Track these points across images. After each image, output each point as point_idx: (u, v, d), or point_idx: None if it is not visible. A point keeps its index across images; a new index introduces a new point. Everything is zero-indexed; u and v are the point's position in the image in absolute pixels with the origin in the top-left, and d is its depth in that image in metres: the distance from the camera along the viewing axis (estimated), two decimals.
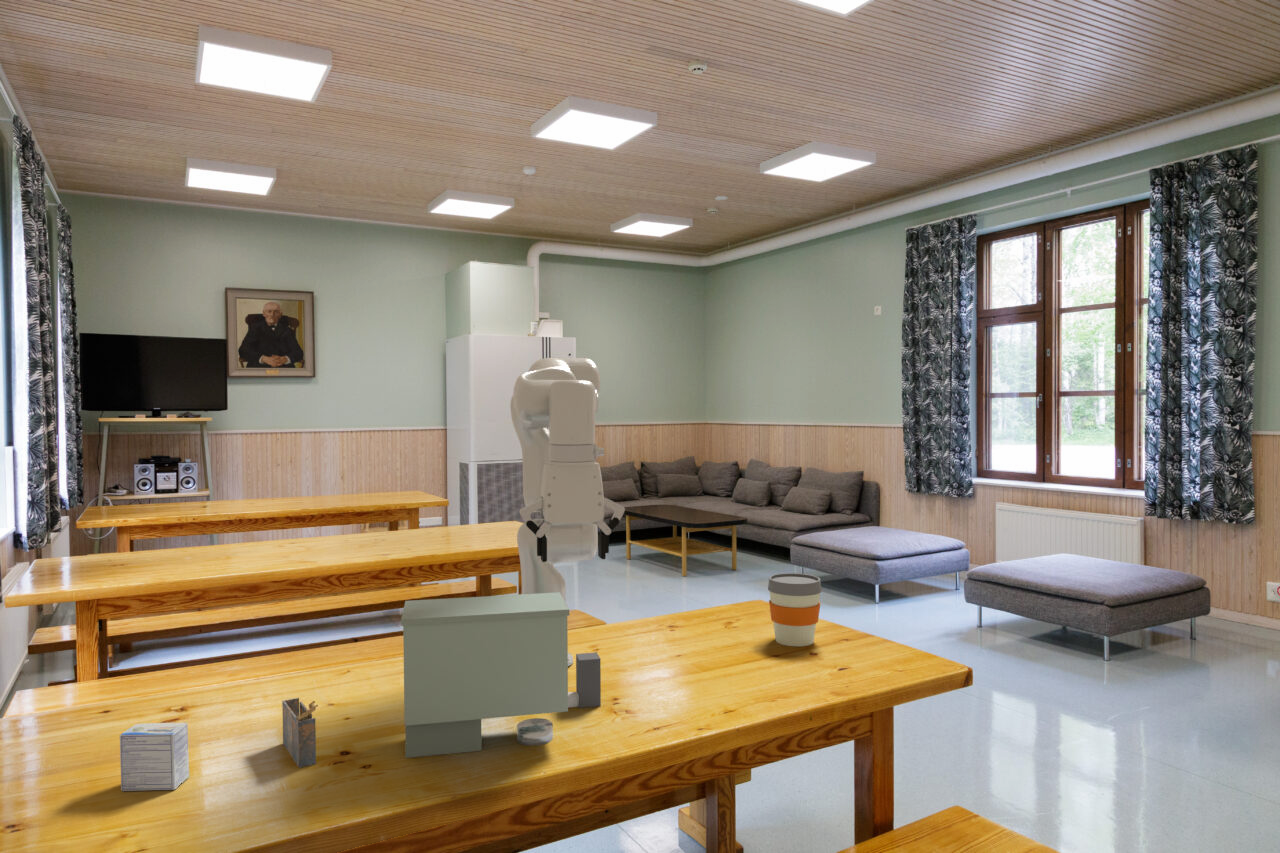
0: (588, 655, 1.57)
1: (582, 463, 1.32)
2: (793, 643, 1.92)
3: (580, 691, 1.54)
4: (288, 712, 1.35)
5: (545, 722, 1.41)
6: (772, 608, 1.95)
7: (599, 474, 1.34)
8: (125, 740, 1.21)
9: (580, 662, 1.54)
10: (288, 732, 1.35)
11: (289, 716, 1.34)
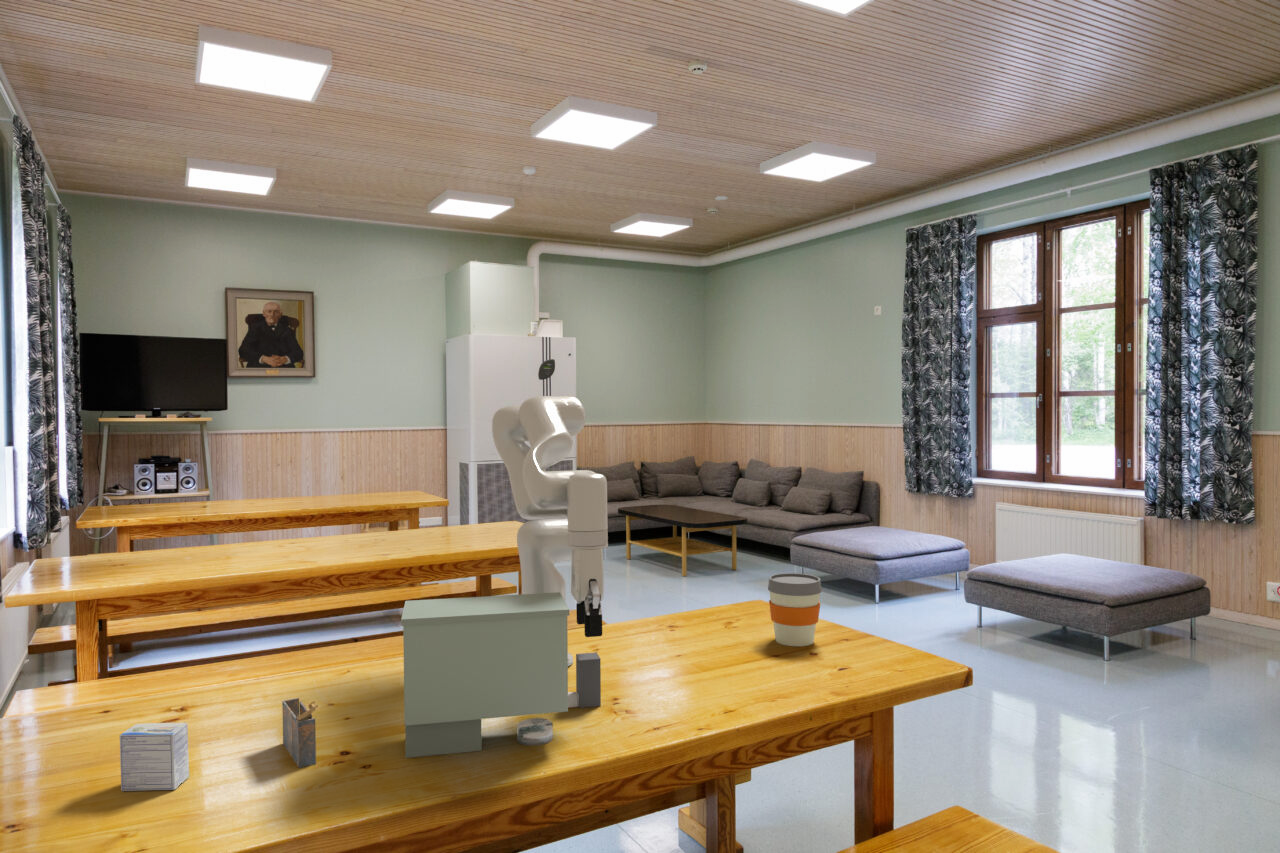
0: (588, 655, 1.57)
1: None
2: (793, 643, 1.92)
3: (580, 691, 1.54)
4: (288, 712, 1.35)
5: (545, 722, 1.41)
6: (772, 608, 1.95)
7: None
8: (125, 740, 1.21)
9: (580, 662, 1.54)
10: (288, 732, 1.35)
11: (289, 716, 1.34)
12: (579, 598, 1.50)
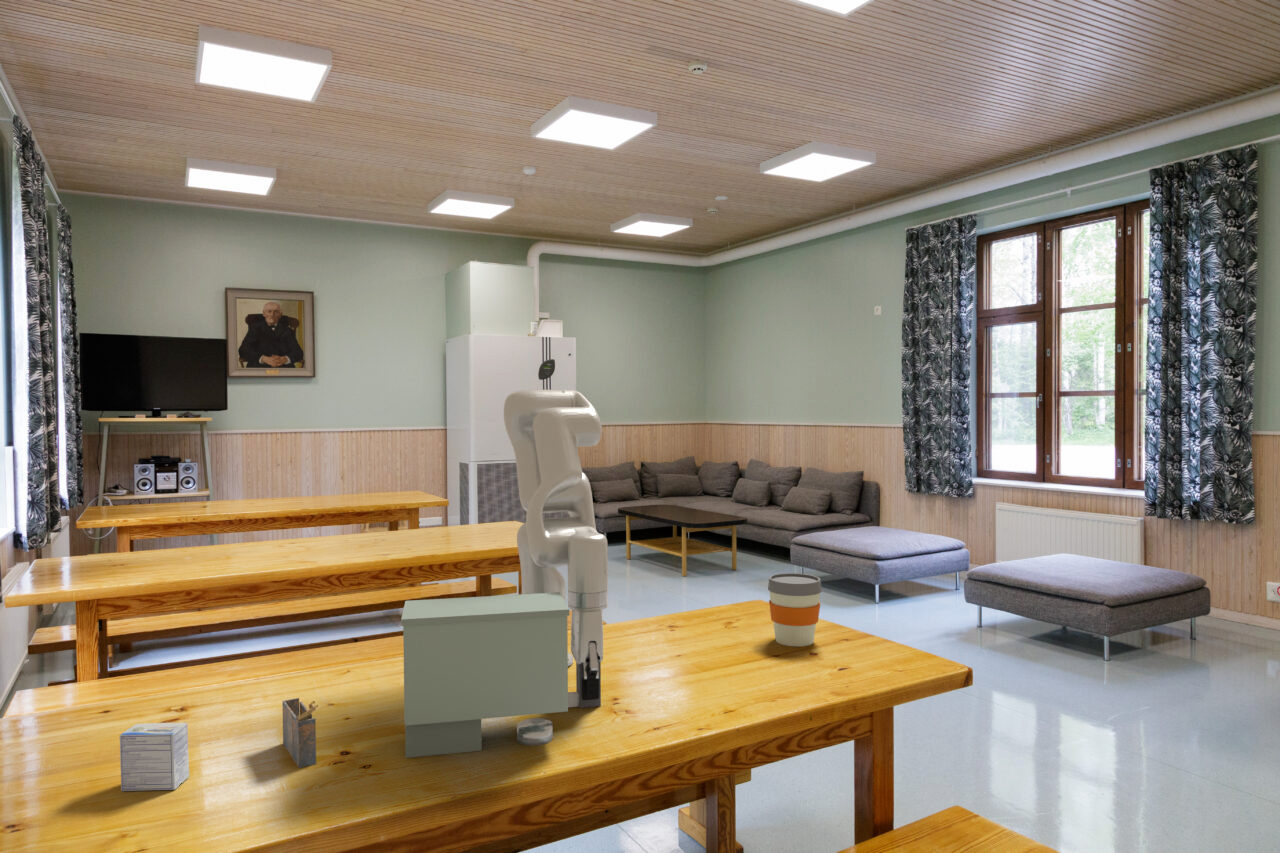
0: None
1: None
2: (793, 643, 1.92)
3: (580, 691, 1.54)
4: (288, 712, 1.35)
5: (545, 722, 1.41)
6: (772, 608, 1.95)
7: None
8: (125, 740, 1.21)
9: None
10: (288, 732, 1.35)
11: (289, 716, 1.34)
12: (579, 660, 1.51)
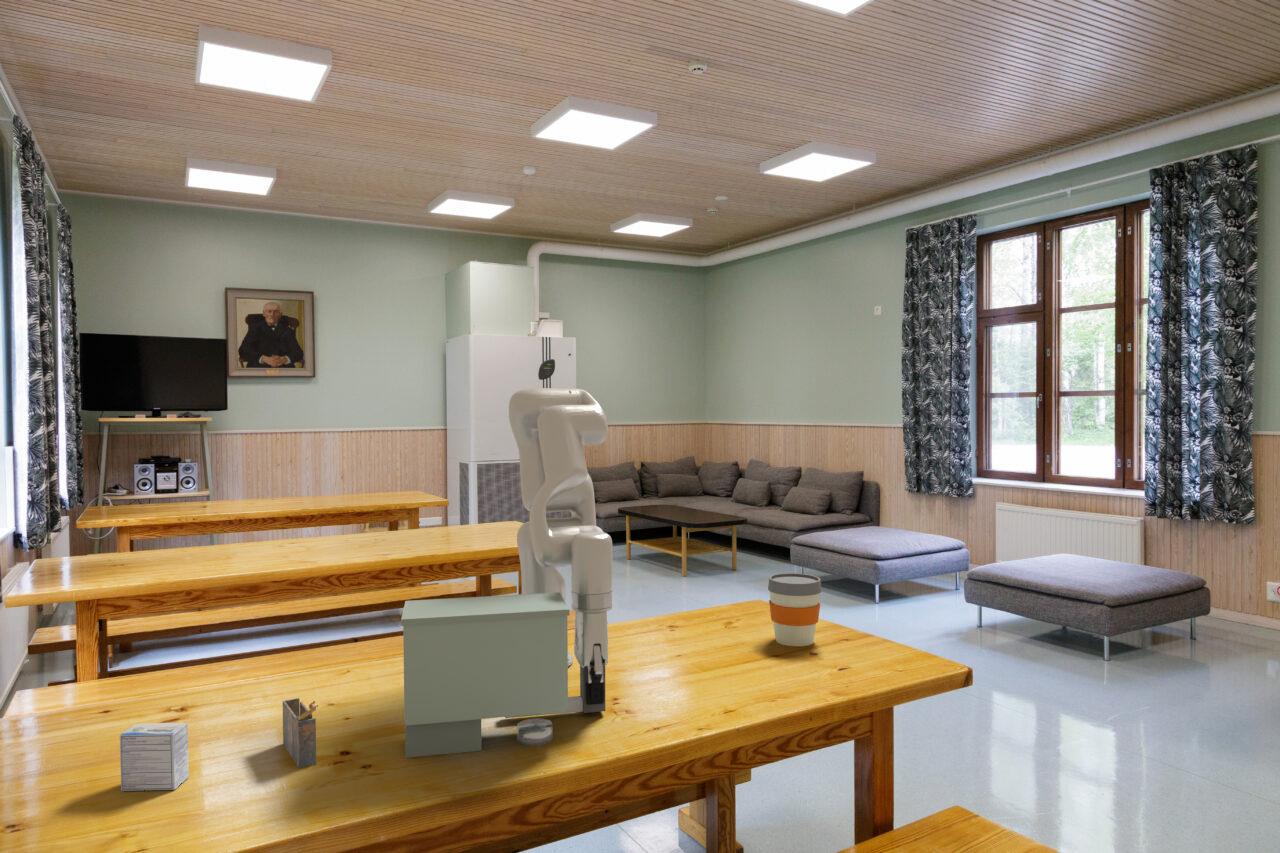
0: None
1: None
2: (793, 643, 1.92)
3: (584, 695, 1.49)
4: (288, 712, 1.34)
5: (545, 722, 1.41)
6: (772, 608, 1.95)
7: None
8: (125, 740, 1.21)
9: None
10: (288, 732, 1.35)
11: (289, 716, 1.34)
12: (583, 663, 1.46)
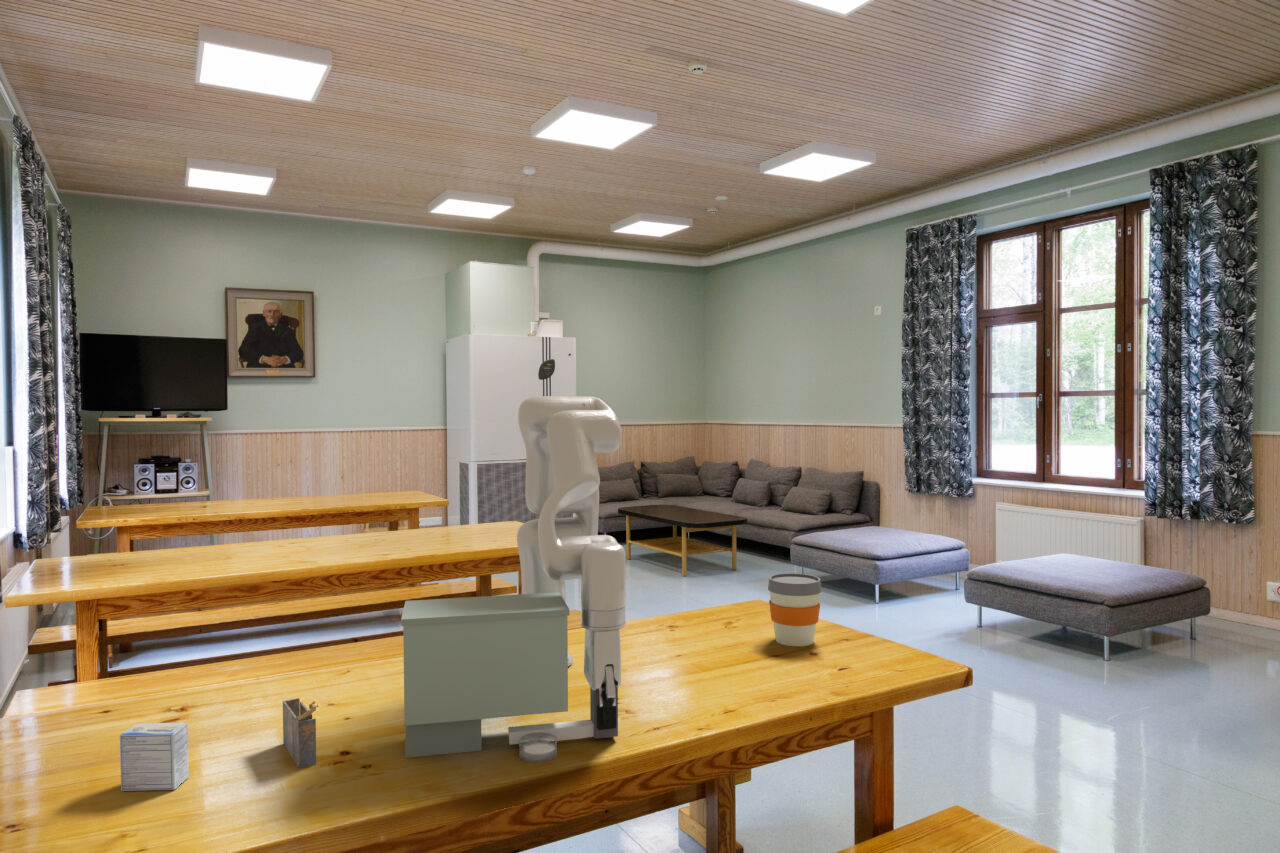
0: None
1: None
2: (793, 643, 1.92)
3: (595, 720, 1.38)
4: (288, 712, 1.34)
5: (549, 737, 1.35)
6: (772, 608, 1.95)
7: None
8: (125, 740, 1.21)
9: None
10: (288, 732, 1.35)
11: (289, 716, 1.34)
12: (594, 686, 1.35)
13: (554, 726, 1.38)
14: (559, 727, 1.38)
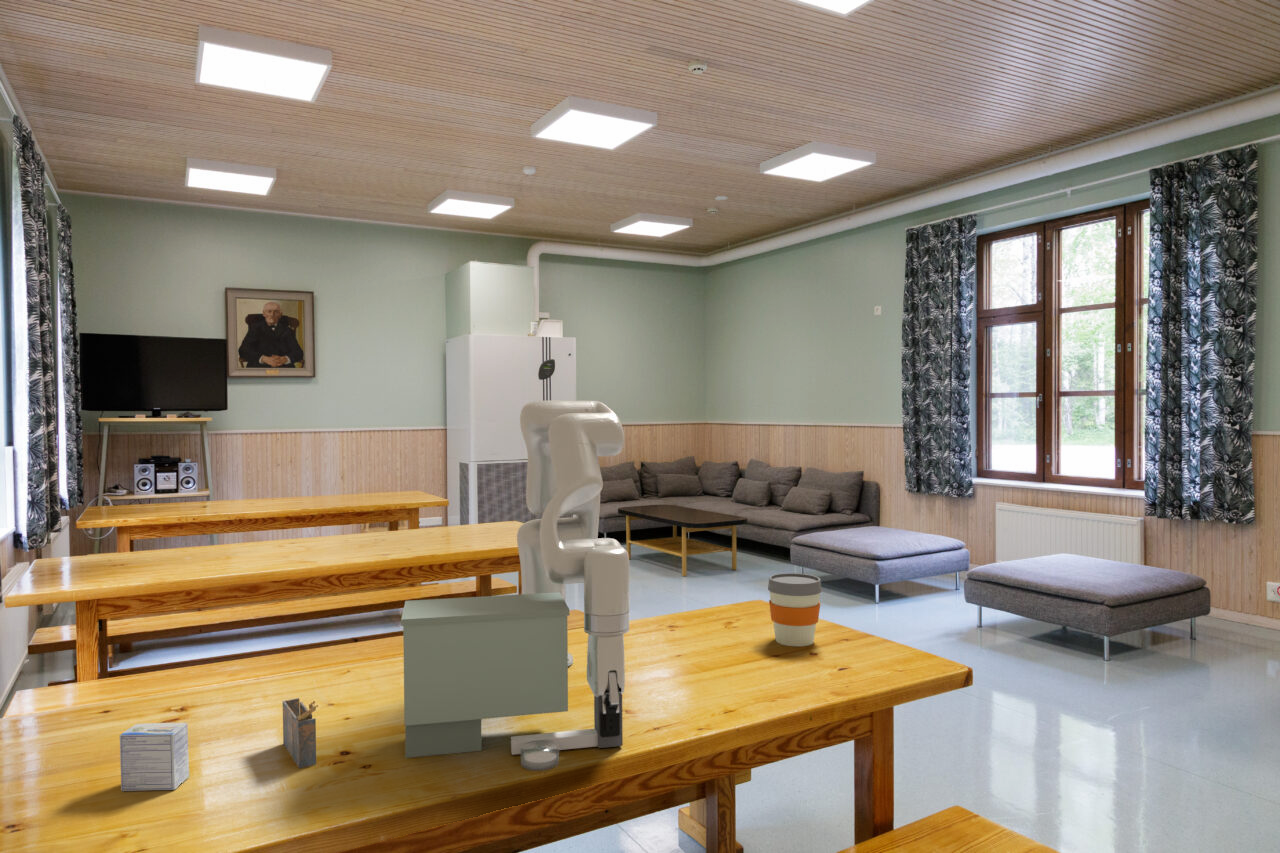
0: None
1: None
2: (793, 643, 1.92)
3: (599, 729, 1.35)
4: (288, 712, 1.34)
5: (551, 745, 1.32)
6: (772, 608, 1.95)
7: None
8: (125, 740, 1.21)
9: (599, 696, 1.35)
10: (288, 732, 1.35)
11: (289, 716, 1.34)
12: (597, 692, 1.32)
13: (557, 735, 1.35)
14: (563, 736, 1.35)
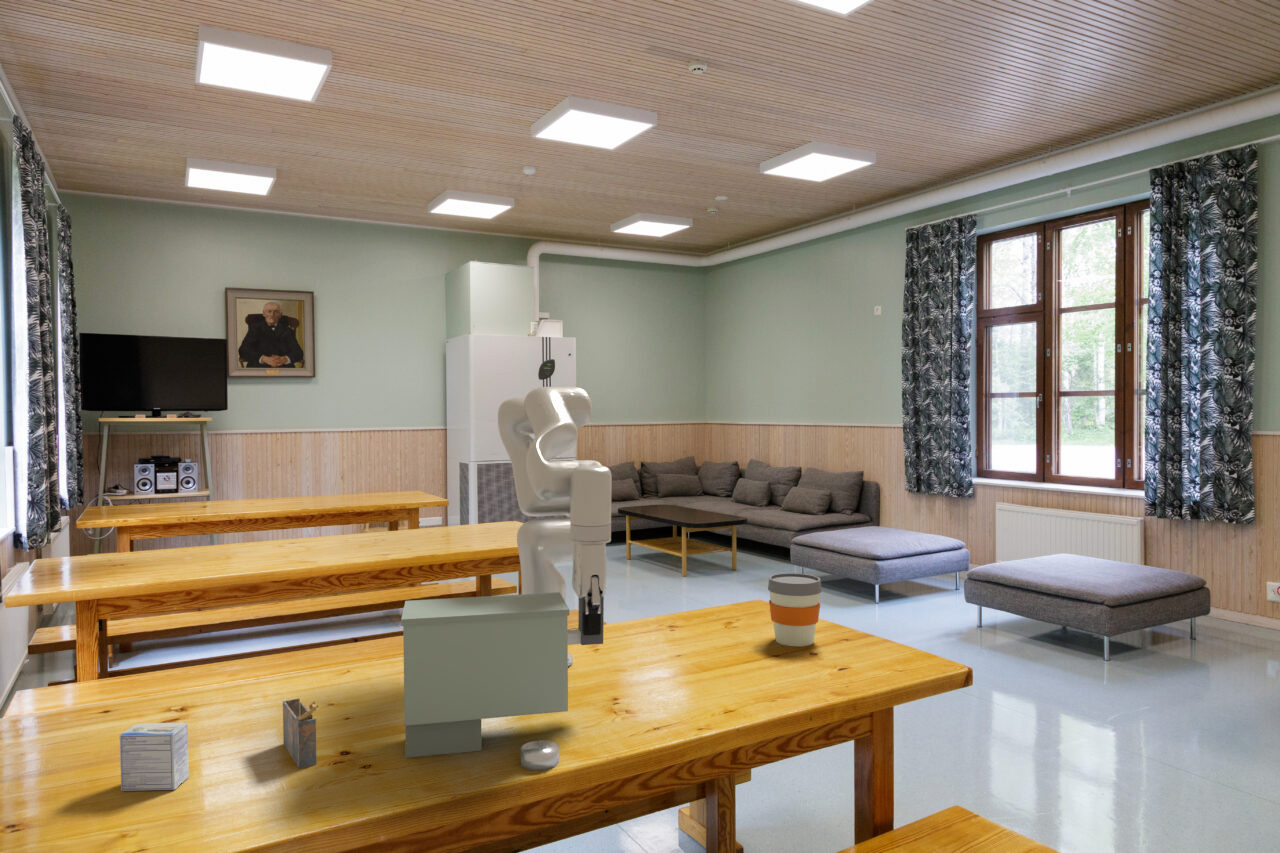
0: None
1: None
2: (793, 643, 1.92)
3: (582, 628, 1.51)
4: (288, 713, 1.34)
5: (551, 745, 1.32)
6: (772, 608, 1.95)
7: None
8: (125, 740, 1.21)
9: (583, 599, 1.50)
10: (288, 733, 1.35)
11: (289, 717, 1.34)
12: (580, 594, 1.47)
13: None
14: None
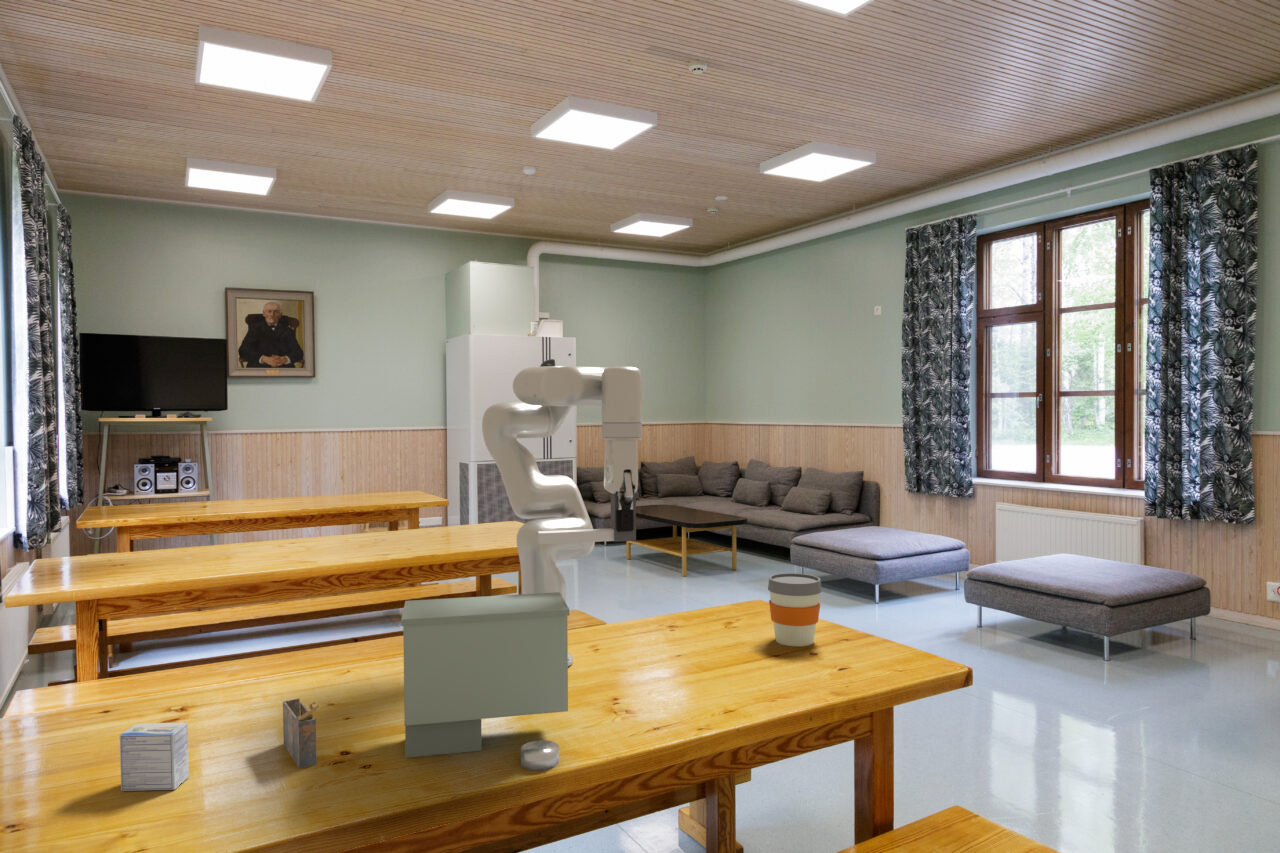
0: (623, 491, 1.56)
1: None
2: (793, 643, 1.92)
3: (615, 525, 1.54)
4: (288, 713, 1.34)
5: (551, 745, 1.32)
6: (772, 608, 1.95)
7: None
8: (125, 740, 1.21)
9: (615, 495, 1.53)
10: (289, 733, 1.35)
11: (289, 717, 1.34)
12: (614, 488, 1.50)
13: (579, 531, 1.54)
14: (583, 531, 1.53)
